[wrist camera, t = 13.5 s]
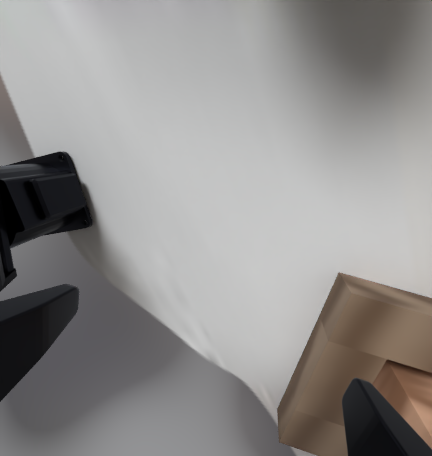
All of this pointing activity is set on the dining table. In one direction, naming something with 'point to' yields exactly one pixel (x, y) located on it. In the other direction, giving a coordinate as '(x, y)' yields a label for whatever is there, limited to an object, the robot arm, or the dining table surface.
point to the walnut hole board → (351, 358)
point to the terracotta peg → (408, 395)
